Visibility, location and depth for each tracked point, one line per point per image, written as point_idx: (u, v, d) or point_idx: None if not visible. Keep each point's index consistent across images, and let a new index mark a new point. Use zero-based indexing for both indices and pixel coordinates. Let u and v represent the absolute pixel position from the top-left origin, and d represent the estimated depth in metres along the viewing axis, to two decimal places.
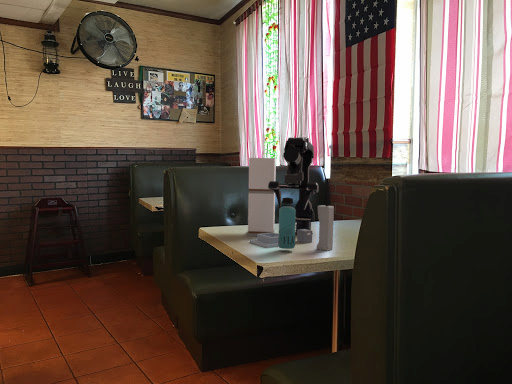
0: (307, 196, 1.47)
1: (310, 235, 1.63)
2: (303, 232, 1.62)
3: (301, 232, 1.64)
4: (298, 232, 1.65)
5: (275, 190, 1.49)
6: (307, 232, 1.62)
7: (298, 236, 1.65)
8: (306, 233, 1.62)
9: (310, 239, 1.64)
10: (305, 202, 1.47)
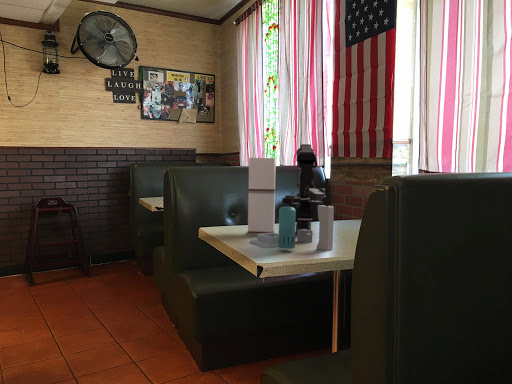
0: (317, 207, 1.66)
1: (310, 235, 1.63)
2: (303, 232, 1.62)
3: (301, 232, 1.63)
4: (298, 232, 1.65)
5: (298, 205, 1.58)
6: (307, 232, 1.62)
7: (298, 236, 1.65)
8: (306, 233, 1.62)
9: (310, 239, 1.64)
10: (315, 212, 1.66)
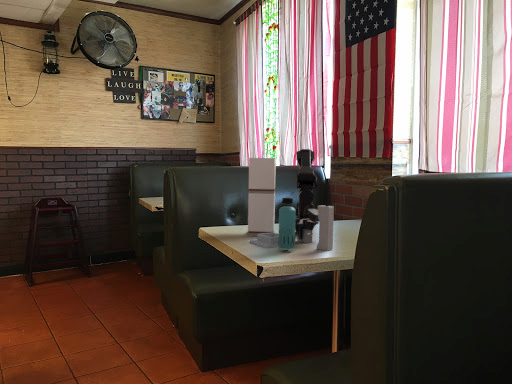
0: (313, 227, 1.65)
1: (310, 235, 1.63)
2: (303, 232, 1.62)
3: None
4: None
5: (302, 225, 1.60)
6: (307, 232, 1.62)
7: None
8: (306, 233, 1.62)
9: (310, 238, 1.64)
10: None
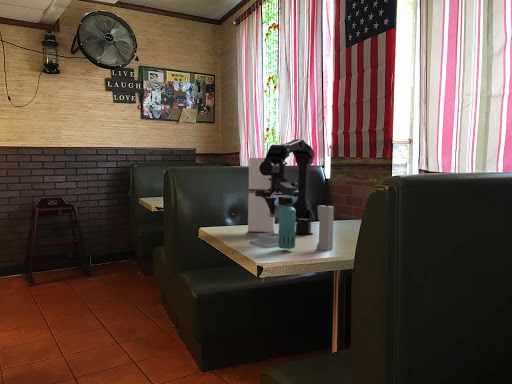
0: None
1: None
2: (275, 206, 1.57)
3: None
4: None
5: (273, 199, 1.55)
6: (279, 206, 1.57)
7: None
8: (278, 207, 1.57)
9: None
10: None
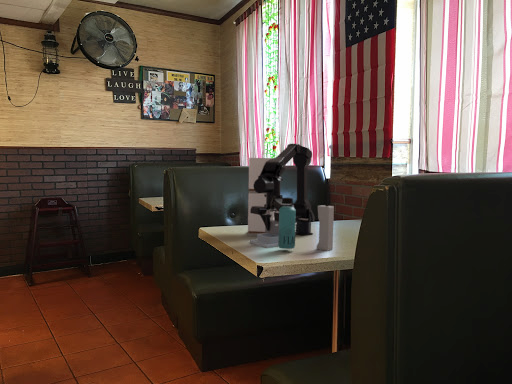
0: None
1: (278, 226, 1.58)
2: (271, 223, 1.57)
3: None
4: None
5: (269, 216, 1.55)
6: (275, 223, 1.57)
7: None
8: (274, 224, 1.57)
9: (278, 230, 1.58)
10: None
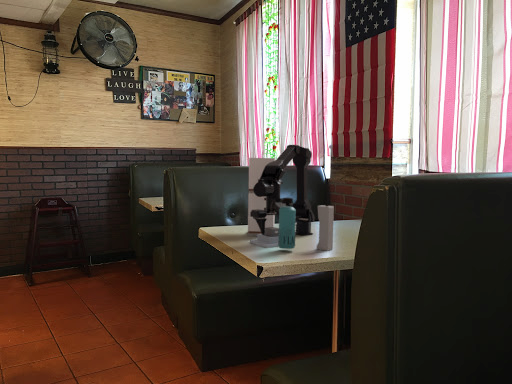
0: None
1: None
2: (270, 230, 1.58)
3: (269, 230, 1.59)
4: (266, 230, 1.60)
5: (263, 219, 1.54)
6: (275, 230, 1.57)
7: (265, 234, 1.60)
8: (273, 231, 1.57)
9: None
10: None
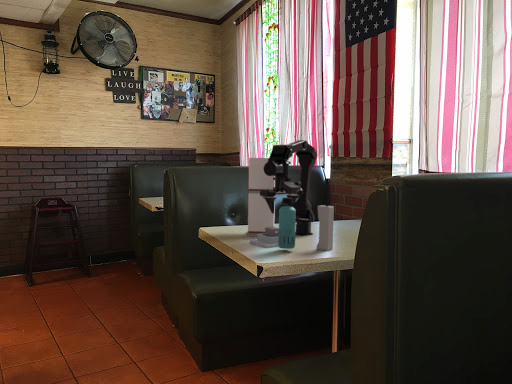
0: (294, 200, 1.65)
1: None
2: (270, 230, 1.58)
3: (269, 230, 1.59)
4: (266, 230, 1.60)
5: (273, 198, 1.57)
6: (275, 230, 1.57)
7: (265, 234, 1.60)
8: (273, 231, 1.57)
9: None
10: (292, 205, 1.65)
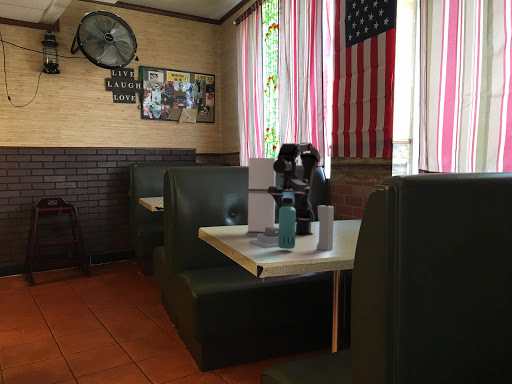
0: (301, 198, 1.69)
1: None
2: (270, 230, 1.58)
3: (269, 230, 1.59)
4: (266, 230, 1.60)
5: (281, 195, 1.61)
6: (275, 230, 1.57)
7: (265, 234, 1.60)
8: (273, 231, 1.57)
9: None
10: (299, 203, 1.69)
